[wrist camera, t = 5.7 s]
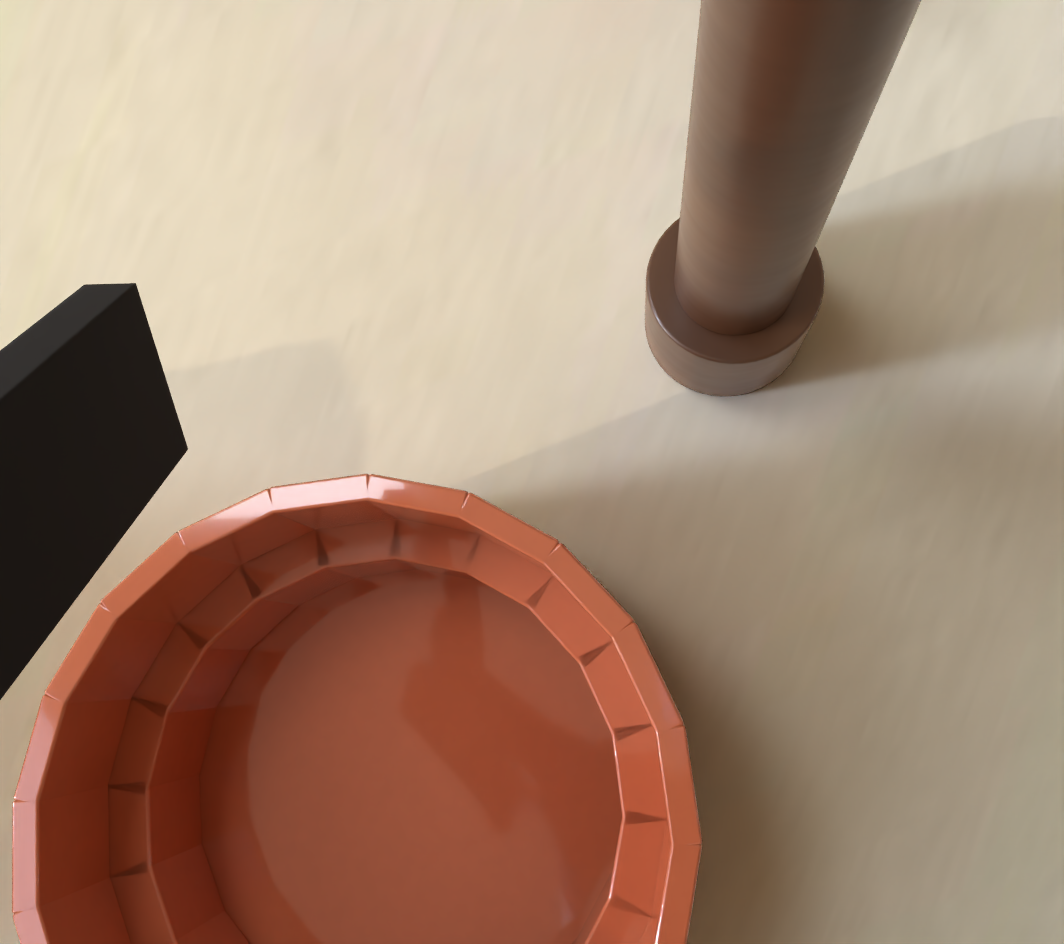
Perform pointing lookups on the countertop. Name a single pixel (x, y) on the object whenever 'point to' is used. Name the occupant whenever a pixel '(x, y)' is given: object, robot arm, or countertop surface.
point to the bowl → (357, 740)
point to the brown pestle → (763, 181)
